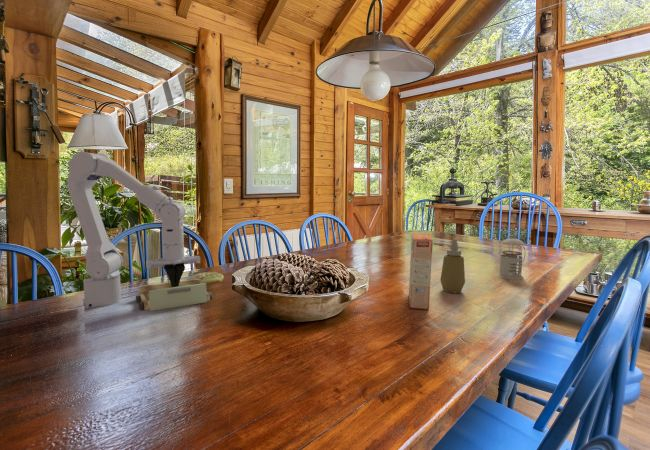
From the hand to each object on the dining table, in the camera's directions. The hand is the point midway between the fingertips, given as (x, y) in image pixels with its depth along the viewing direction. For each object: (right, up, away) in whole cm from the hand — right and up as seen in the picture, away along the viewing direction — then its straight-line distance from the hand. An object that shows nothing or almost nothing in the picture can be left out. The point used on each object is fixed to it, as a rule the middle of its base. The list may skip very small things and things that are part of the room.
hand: (174, 289), depth 113 cm
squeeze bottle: (+88, -4, +19) cm, 90 cm away
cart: (-1, -5, +2) cm, 5 cm away
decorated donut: (+3, -3, +25) cm, 25 cm away
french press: (+119, -2, +41) cm, 126 cm away
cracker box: (+73, -5, +7) cm, 74 cm away
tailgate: (+3, -4, -4) cm, 6 cm away
